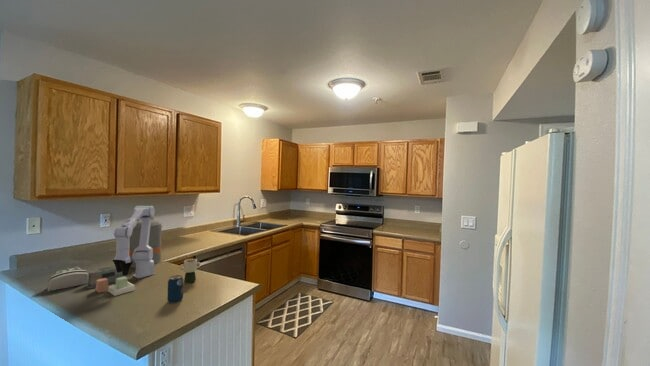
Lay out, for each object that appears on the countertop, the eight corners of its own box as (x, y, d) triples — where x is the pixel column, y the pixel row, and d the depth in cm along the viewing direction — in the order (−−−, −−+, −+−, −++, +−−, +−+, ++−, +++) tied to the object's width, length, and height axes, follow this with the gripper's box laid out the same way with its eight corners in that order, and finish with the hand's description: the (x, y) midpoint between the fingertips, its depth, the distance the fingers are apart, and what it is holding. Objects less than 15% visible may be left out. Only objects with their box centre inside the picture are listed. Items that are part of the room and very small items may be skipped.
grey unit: (122, 276, 166) (123, 263, 166) (127, 278, 163) (127, 264, 163) (85, 285, 151) (85, 270, 151) (88, 288, 148) (89, 273, 148)
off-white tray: (127, 286, 152) (127, 281, 152) (134, 290, 147) (134, 285, 147) (108, 291, 144) (108, 286, 144) (114, 295, 139) (114, 290, 139)
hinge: (87, 280, 158) (88, 266, 156) (88, 285, 155) (90, 270, 153) (47, 288, 146) (47, 273, 143) (47, 294, 143) (48, 278, 141)
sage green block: (124, 287, 148) (124, 276, 148) (127, 288, 146) (127, 277, 146) (115, 289, 145) (115, 278, 145) (118, 291, 143) (118, 280, 143)
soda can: (185, 300, 136) (185, 277, 136) (170, 305, 131) (170, 280, 131) (179, 296, 141) (180, 273, 141) (165, 300, 135) (165, 277, 135)
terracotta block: (104, 288, 148) (105, 277, 148) (107, 290, 146) (108, 279, 146) (95, 291, 145) (96, 280, 145) (98, 292, 142) (98, 281, 142)
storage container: (123, 269, 178) (125, 217, 178) (124, 261, 196) (125, 213, 196) (162, 264, 192) (164, 215, 191) (160, 256, 210) (161, 212, 209)
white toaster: (50, 269, 160) (82, 262, 173) (49, 278, 160) (81, 271, 174) (60, 280, 154) (92, 273, 167) (59, 289, 154) (91, 281, 168)
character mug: (199, 278, 167) (199, 257, 167) (200, 282, 161) (201, 260, 161) (179, 281, 161) (179, 260, 161) (180, 285, 155) (180, 263, 155)
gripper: (108, 247, 147) (108, 272, 147) (119, 252, 139) (119, 278, 139) (123, 245, 152) (123, 269, 153) (135, 249, 144) (134, 274, 145)
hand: (122, 273), depth 146 cm, fingers open, 7 cm apart
